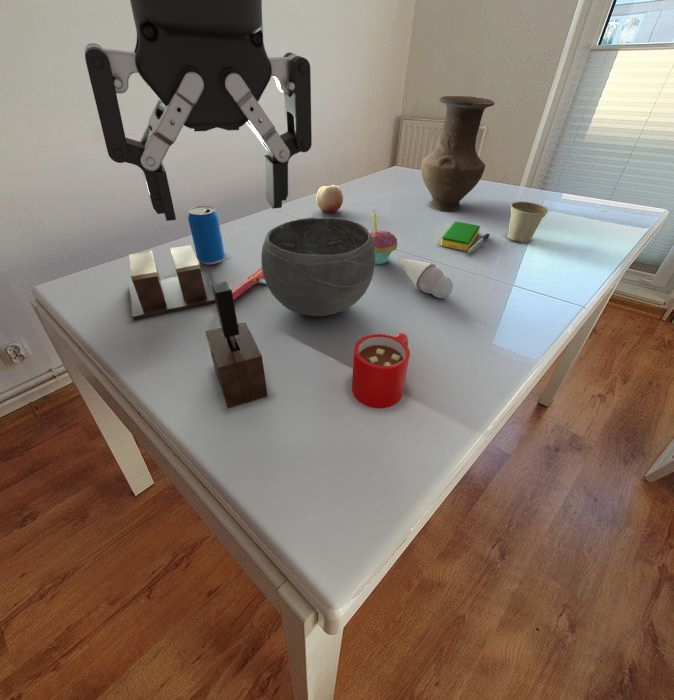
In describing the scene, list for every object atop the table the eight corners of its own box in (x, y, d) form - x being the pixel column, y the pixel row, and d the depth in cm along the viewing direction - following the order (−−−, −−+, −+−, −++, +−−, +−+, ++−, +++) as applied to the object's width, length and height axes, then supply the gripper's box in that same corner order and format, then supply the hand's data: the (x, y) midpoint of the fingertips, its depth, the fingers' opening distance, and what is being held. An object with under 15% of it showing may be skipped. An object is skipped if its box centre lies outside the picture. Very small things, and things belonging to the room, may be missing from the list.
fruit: (332, 205, 124) (333, 179, 119) (347, 212, 119) (348, 186, 114) (312, 209, 121) (311, 183, 116) (325, 217, 115) (326, 190, 110)
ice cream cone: (393, 272, 88) (444, 308, 81) (383, 264, 83) (436, 301, 76) (409, 250, 86) (462, 284, 80) (400, 240, 81) (456, 276, 74)
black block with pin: (236, 391, 57) (216, 294, 47) (231, 379, 59) (211, 283, 49) (249, 387, 58) (232, 290, 47) (244, 375, 60) (226, 280, 49)
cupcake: (357, 264, 91) (360, 215, 83) (364, 250, 97) (367, 203, 90) (393, 269, 89) (399, 219, 82) (397, 254, 96) (403, 206, 88)
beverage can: (226, 264, 90) (217, 213, 82) (197, 267, 89) (185, 215, 81) (225, 252, 95) (216, 204, 87) (198, 255, 93) (186, 206, 86)
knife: (467, 258, 95) (469, 250, 94) (464, 257, 95) (466, 250, 94) (488, 240, 104) (490, 233, 103) (485, 239, 105) (487, 232, 103)
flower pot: (515, 229, 111) (525, 199, 105) (544, 240, 105) (556, 209, 99) (494, 236, 107) (503, 204, 101) (523, 248, 100) (534, 215, 95)
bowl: (380, 288, 82) (387, 220, 73) (356, 345, 67) (361, 268, 57) (290, 274, 87) (286, 208, 77) (248, 324, 71) (236, 249, 62)
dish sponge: (478, 233, 108) (480, 225, 106) (466, 251, 98) (468, 242, 96) (453, 228, 110) (455, 220, 109) (439, 245, 101) (441, 237, 99)
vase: (452, 220, 115) (477, 104, 96) (403, 204, 126) (417, 97, 107) (485, 207, 126) (514, 99, 107) (438, 193, 136) (456, 93, 118)
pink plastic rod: (291, 266, 91) (275, 257, 92) (293, 259, 90) (277, 250, 90) (230, 316, 74) (210, 304, 75) (231, 309, 73) (211, 296, 73)
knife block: (227, 409, 55) (217, 367, 50) (215, 370, 61) (205, 330, 56) (267, 396, 57) (262, 355, 52) (251, 360, 63) (245, 321, 58)
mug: (422, 370, 62) (430, 331, 57) (387, 416, 54) (394, 376, 49) (379, 353, 65) (384, 314, 60) (341, 394, 57) (343, 354, 52)
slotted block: (133, 321, 71) (118, 282, 66) (130, 289, 80) (117, 253, 75) (219, 303, 77) (211, 266, 71) (207, 275, 86) (199, 240, 80)
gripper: (288, -63, 25) (289, 186, 36) (32, -107, 20) (125, 201, 31) (338, -70, 20) (321, 220, 31) (18, -129, 15) (134, 244, 26)
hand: (224, 210), depth 31 cm, fingers open, 8 cm apart
